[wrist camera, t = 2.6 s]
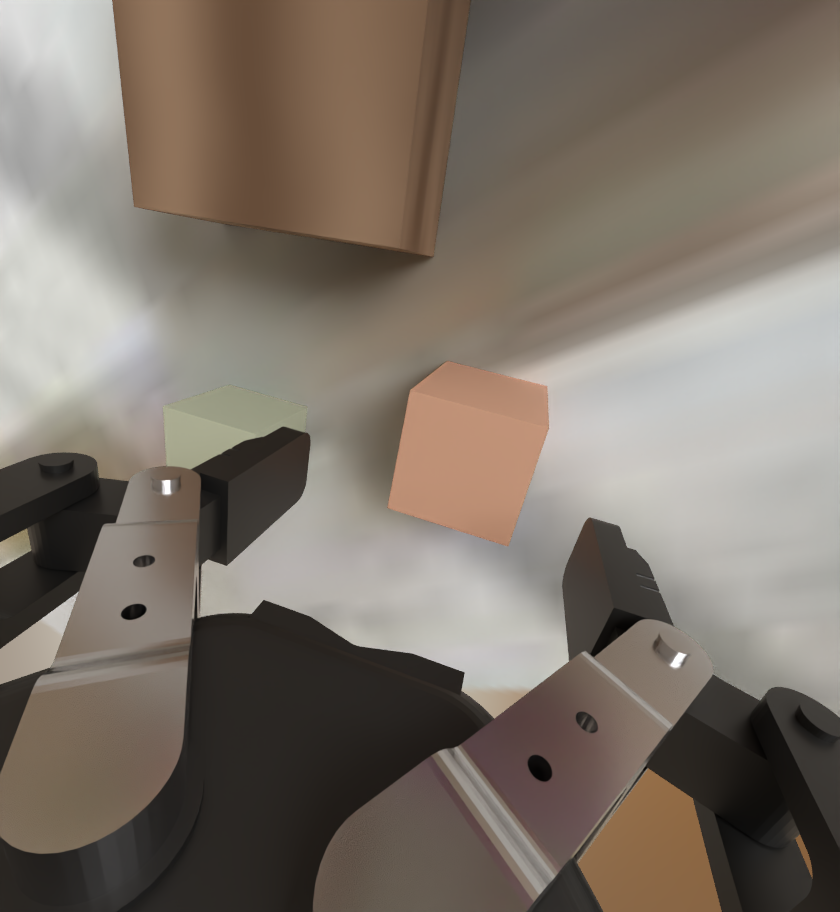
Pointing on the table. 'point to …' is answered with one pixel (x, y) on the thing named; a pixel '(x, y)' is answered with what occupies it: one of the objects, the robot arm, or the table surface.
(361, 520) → the table surface
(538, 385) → the terracotta block
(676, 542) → the table surface
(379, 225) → the walnut block
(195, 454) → the sage green cube
